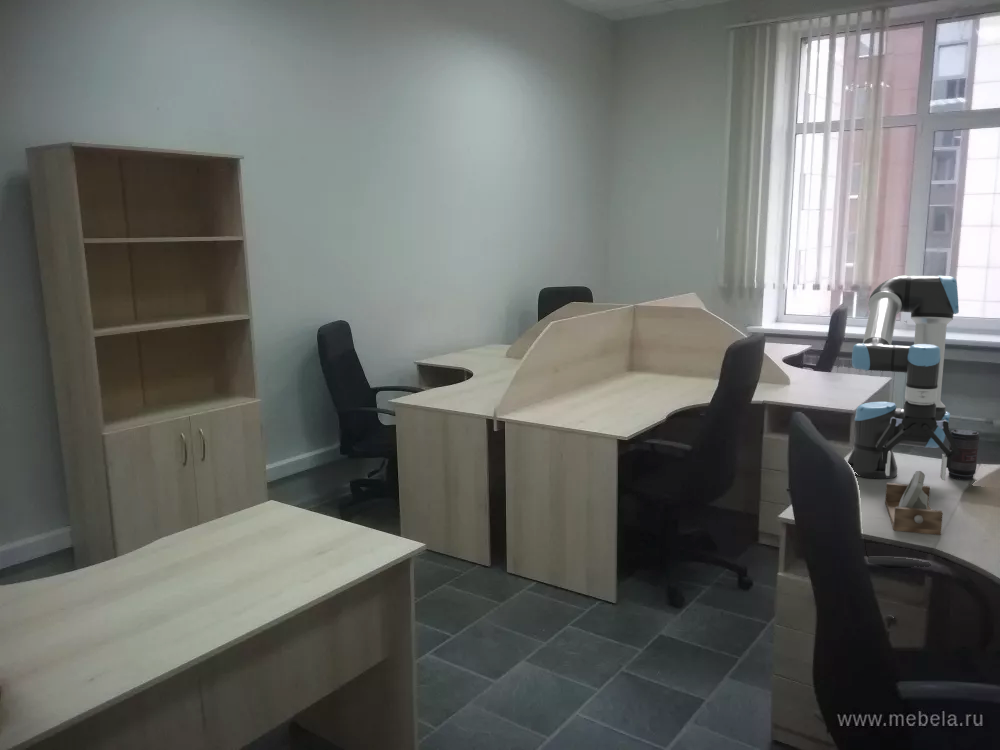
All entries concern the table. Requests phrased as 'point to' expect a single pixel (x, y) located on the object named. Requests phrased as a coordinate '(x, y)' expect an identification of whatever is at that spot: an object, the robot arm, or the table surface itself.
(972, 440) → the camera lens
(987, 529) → the table surface
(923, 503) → the digital clock
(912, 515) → the walnut holder
